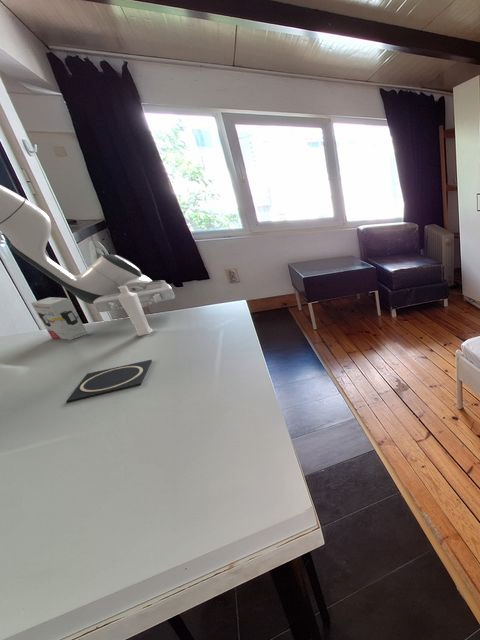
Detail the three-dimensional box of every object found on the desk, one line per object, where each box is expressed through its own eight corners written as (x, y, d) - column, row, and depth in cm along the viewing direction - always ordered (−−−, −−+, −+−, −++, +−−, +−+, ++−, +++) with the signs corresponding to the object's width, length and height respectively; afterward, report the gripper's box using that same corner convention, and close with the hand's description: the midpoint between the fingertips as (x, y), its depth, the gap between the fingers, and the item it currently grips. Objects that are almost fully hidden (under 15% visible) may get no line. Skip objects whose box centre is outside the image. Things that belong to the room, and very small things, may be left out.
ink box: (51, 338, 113) (28, 302, 108) (69, 331, 117) (48, 297, 112) (71, 340, 111) (49, 303, 106) (89, 333, 115) (68, 298, 110)
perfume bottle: (142, 336, 111) (118, 289, 104) (132, 335, 112) (108, 288, 105) (157, 330, 115) (136, 284, 108) (148, 329, 116) (126, 283, 109)
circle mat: (67, 402, 80) (65, 400, 80) (87, 374, 91) (86, 373, 90) (140, 384, 85) (139, 382, 85) (152, 360, 96) (151, 358, 96)
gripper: (92, 291, 118) (85, 302, 108) (169, 279, 128) (169, 287, 118) (102, 310, 121) (96, 322, 111) (177, 296, 131) (177, 306, 121)
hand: (134, 304), depth 115 cm, fingers open, 8 cm apart
